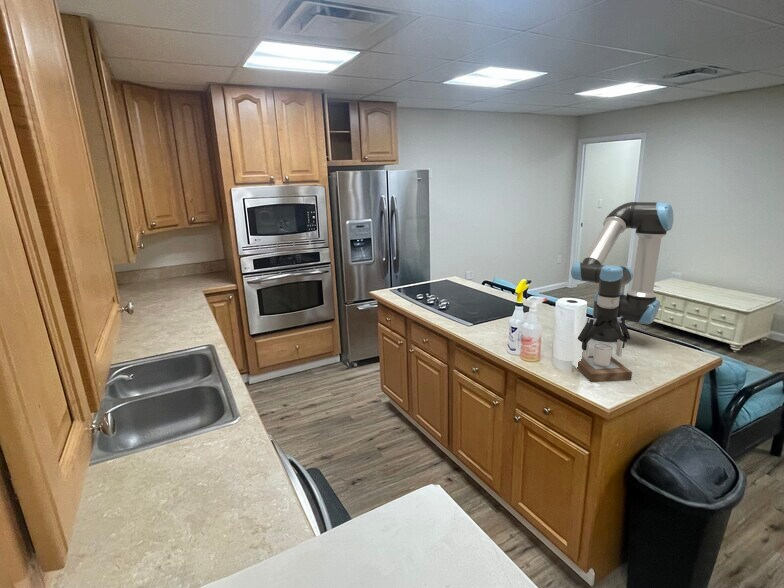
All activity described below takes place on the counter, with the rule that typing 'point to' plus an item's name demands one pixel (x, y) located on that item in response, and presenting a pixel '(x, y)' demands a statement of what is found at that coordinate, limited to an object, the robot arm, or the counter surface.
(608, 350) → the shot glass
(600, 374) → the walnut base
